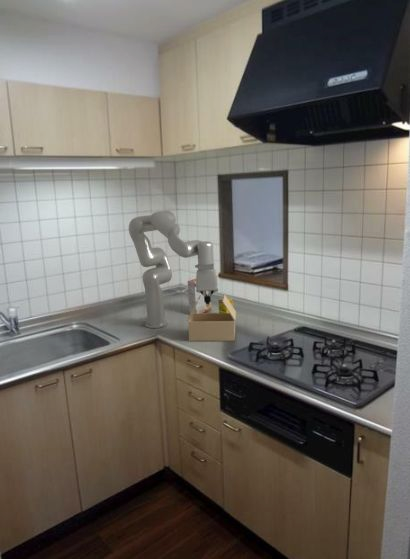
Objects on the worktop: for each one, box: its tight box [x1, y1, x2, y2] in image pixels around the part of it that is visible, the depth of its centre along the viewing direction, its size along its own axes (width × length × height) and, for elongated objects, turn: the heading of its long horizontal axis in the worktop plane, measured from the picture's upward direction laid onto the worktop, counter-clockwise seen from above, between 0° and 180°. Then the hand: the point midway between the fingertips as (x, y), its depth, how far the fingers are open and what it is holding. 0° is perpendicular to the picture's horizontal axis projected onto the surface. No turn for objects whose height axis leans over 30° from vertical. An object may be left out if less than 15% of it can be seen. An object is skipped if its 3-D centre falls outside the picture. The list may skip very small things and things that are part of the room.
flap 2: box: [222, 293, 237, 322], centre depth 209 cm, size 11×14×1 cm
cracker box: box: [187, 278, 212, 315], centre depth 252 cm, size 14×6×21 cm, turn 141°
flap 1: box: [186, 295, 201, 322], centre depth 211 cm, size 11×14×1 cm
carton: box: [187, 312, 236, 343], centre depth 212 cm, size 22×14×10 cm, turn 84°
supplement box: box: [218, 297, 234, 313], centre depth 242 cm, size 6×6×11 cm
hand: (207, 303), depth 210 cm, fingers closed
